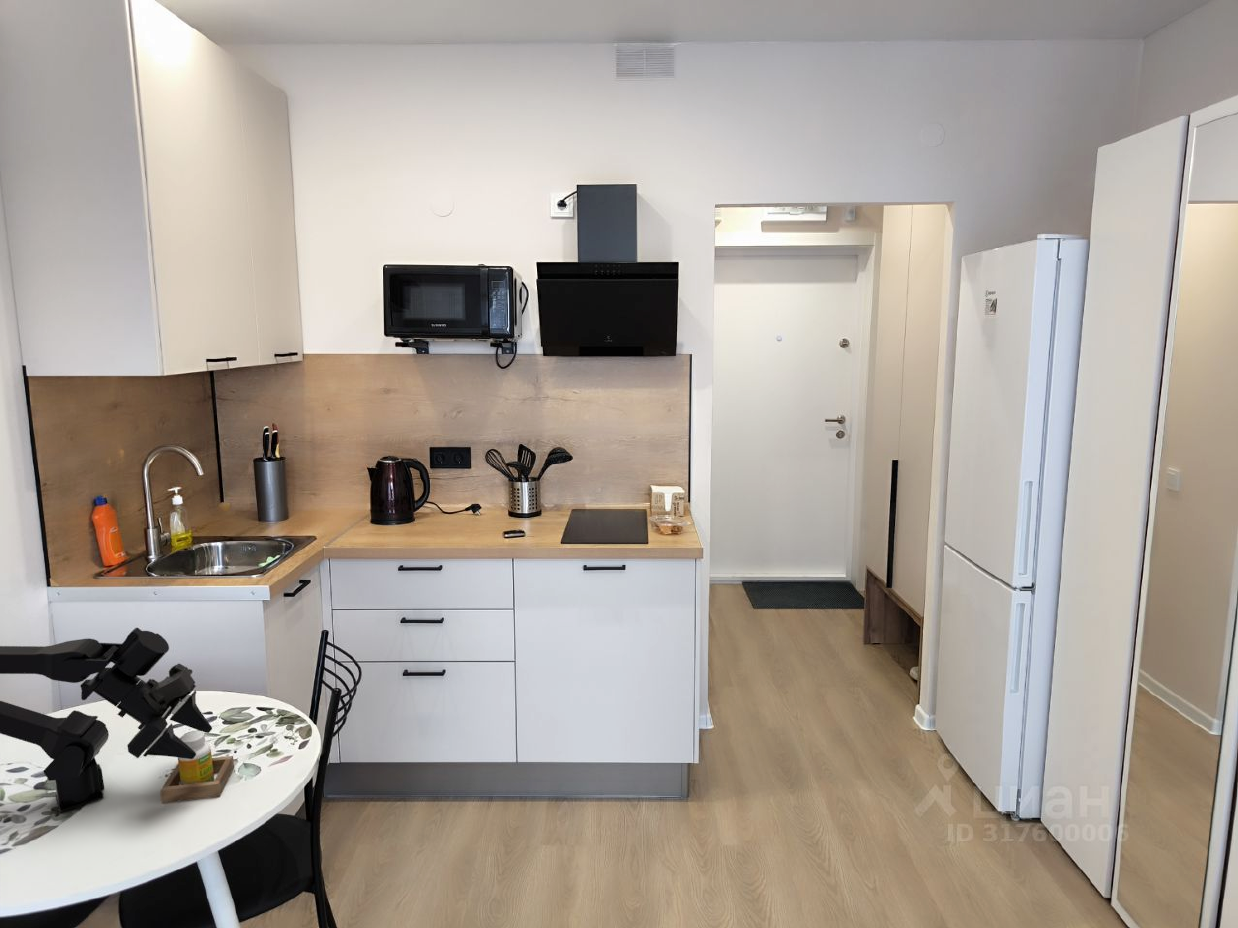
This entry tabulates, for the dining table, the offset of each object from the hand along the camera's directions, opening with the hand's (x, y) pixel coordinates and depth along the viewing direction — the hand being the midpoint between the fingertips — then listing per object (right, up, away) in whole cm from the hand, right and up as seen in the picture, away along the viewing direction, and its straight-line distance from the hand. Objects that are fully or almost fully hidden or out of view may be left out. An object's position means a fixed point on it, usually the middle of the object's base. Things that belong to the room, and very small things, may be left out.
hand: (202, 743), depth 146 cm
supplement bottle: (-1, -8, +1) cm, 8 cm away
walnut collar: (-1, -8, +1) cm, 8 cm away
